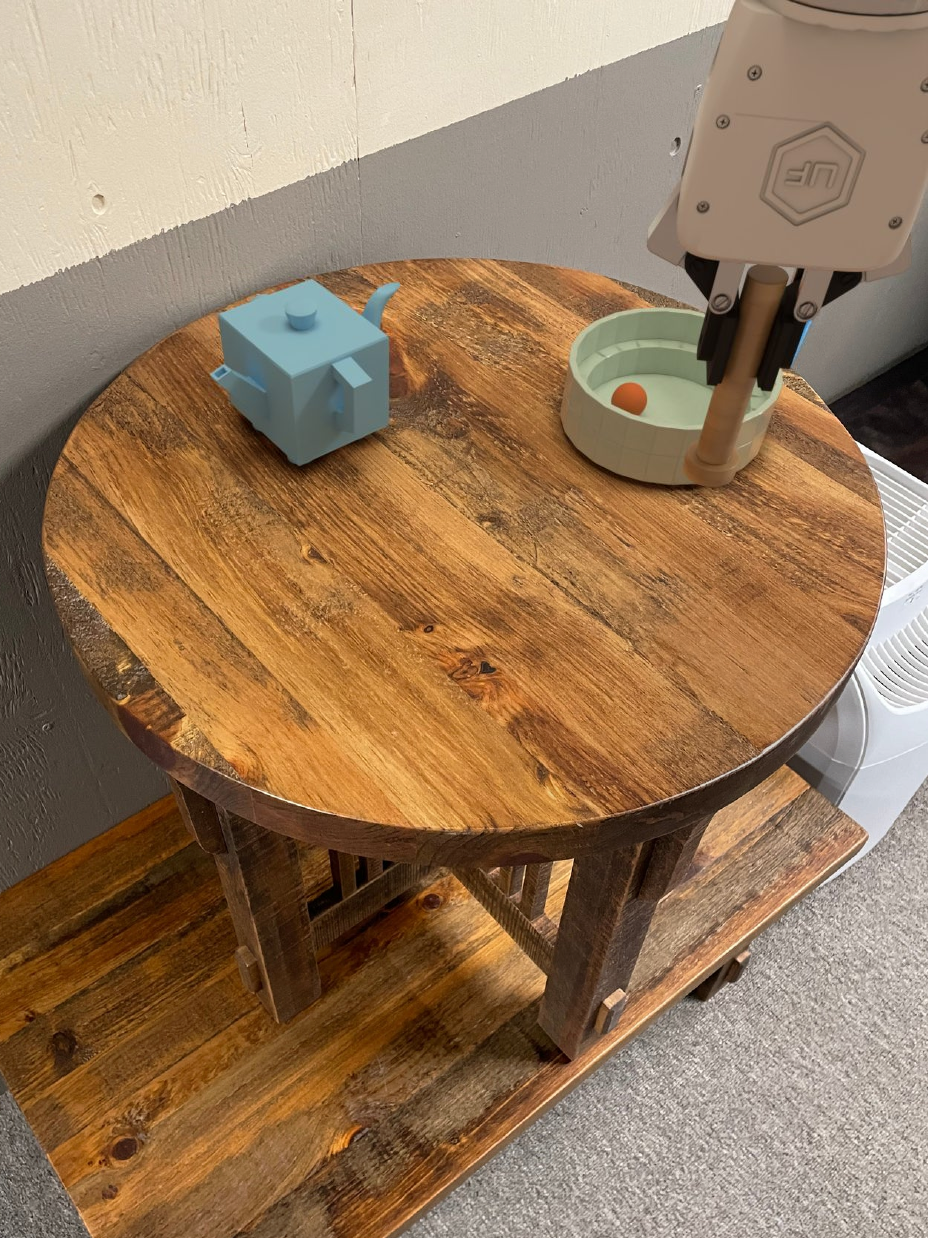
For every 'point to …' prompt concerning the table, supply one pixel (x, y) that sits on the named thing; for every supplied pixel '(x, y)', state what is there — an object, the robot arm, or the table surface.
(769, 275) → the rod
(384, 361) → the teapot
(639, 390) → the ball
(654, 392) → the bowl
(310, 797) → the table surface
